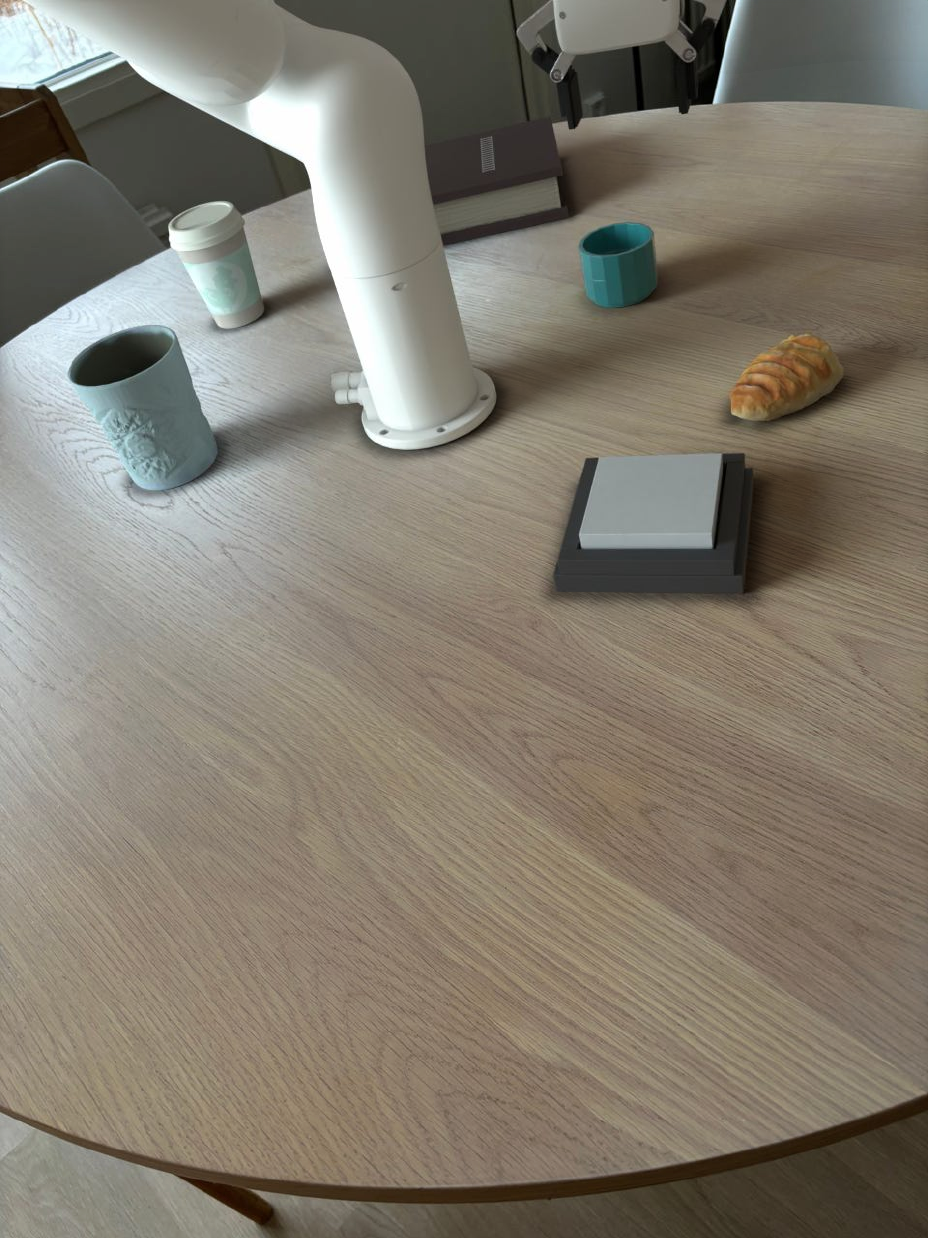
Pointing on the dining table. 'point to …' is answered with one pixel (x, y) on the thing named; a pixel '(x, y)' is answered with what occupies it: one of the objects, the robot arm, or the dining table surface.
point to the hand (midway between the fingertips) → (629, 115)
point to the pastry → (786, 379)
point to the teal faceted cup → (619, 264)
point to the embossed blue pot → (146, 405)
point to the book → (496, 181)
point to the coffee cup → (218, 261)
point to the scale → (663, 566)
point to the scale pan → (653, 502)
